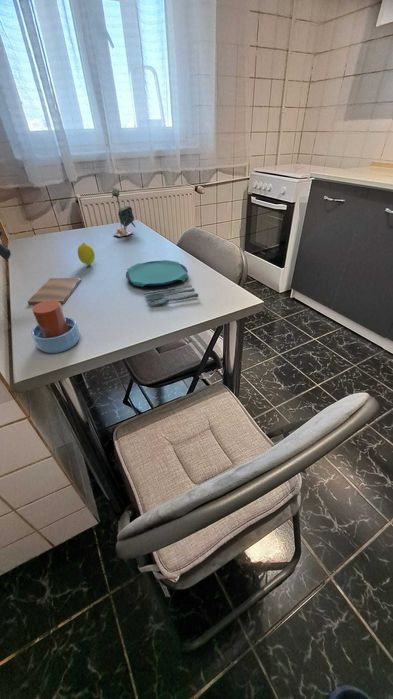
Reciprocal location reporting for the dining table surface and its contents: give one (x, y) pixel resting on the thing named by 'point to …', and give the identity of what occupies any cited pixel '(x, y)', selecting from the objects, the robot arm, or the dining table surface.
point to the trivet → (55, 290)
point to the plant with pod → (123, 216)
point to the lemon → (86, 254)
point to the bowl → (57, 338)
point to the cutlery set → (159, 279)
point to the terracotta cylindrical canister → (50, 319)
